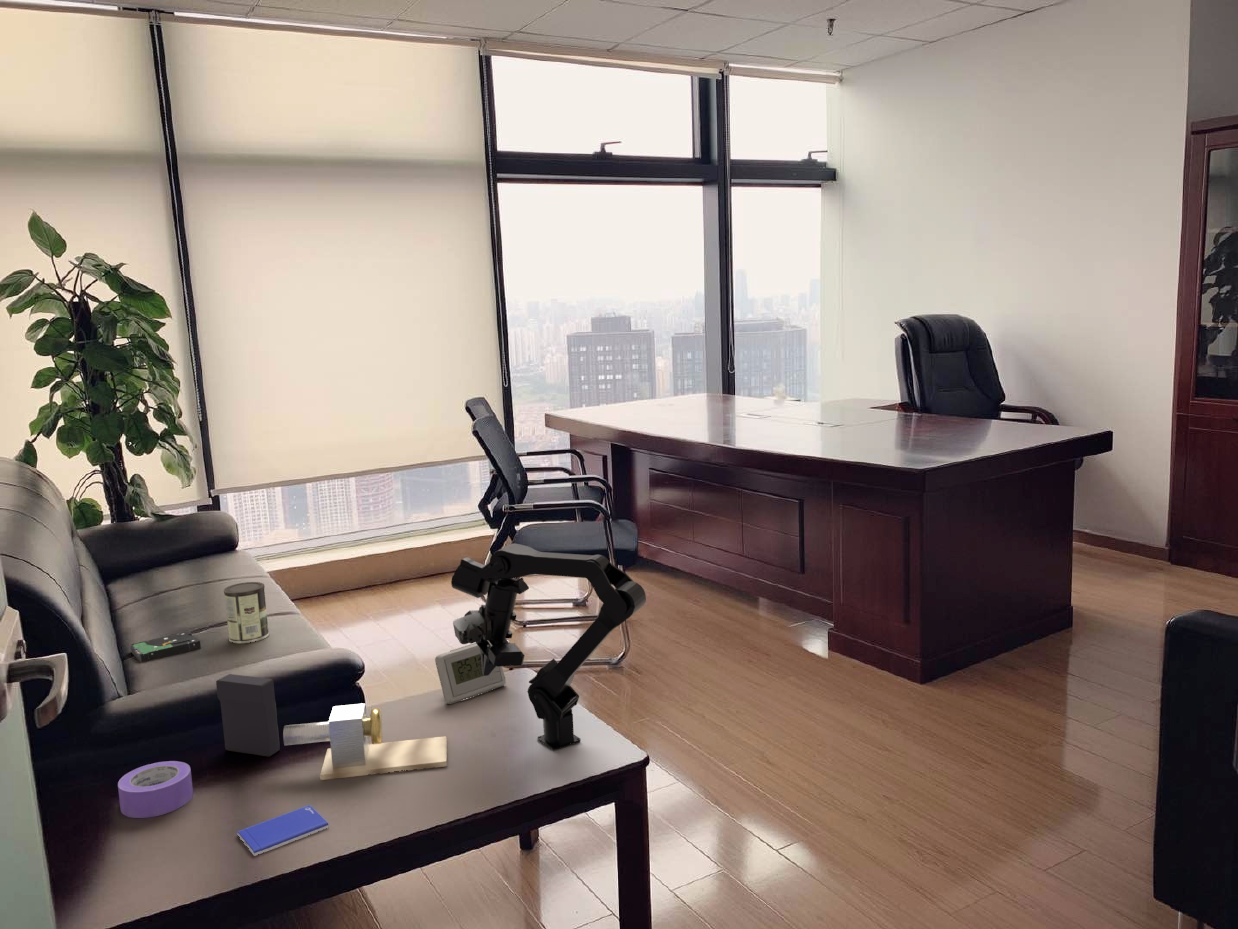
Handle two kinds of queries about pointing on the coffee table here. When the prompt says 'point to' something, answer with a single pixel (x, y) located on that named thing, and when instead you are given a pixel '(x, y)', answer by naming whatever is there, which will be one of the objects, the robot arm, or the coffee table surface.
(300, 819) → the hard drive
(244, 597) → the coffee can
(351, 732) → the bearing block
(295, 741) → the shaft
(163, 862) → the coffee table surface
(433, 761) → the board
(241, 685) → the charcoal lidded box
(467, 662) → the digital clock
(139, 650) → the disk drive
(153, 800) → the tape roll
